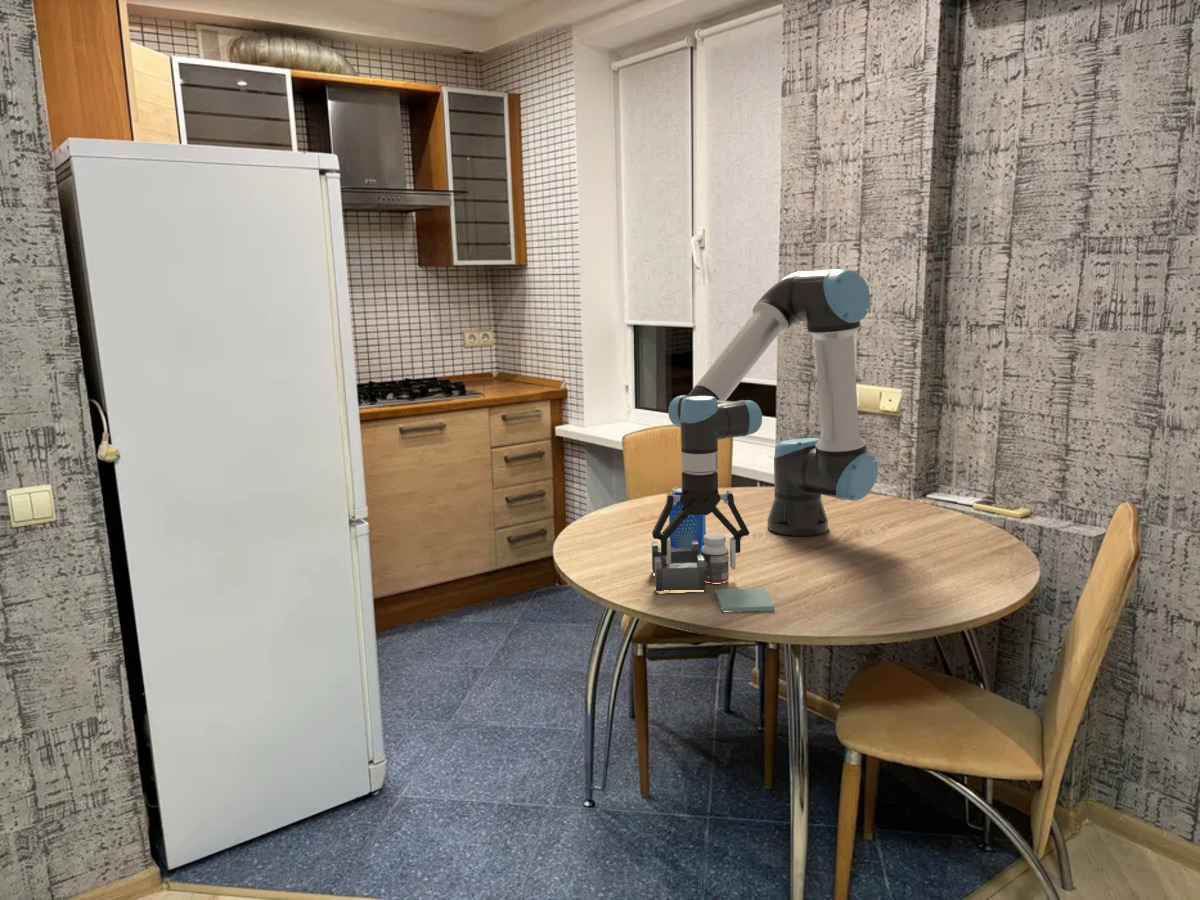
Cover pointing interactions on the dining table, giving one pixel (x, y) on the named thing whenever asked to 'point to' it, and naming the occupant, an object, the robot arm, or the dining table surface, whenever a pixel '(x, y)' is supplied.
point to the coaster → (744, 599)
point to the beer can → (687, 526)
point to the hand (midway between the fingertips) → (700, 568)
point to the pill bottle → (715, 558)
